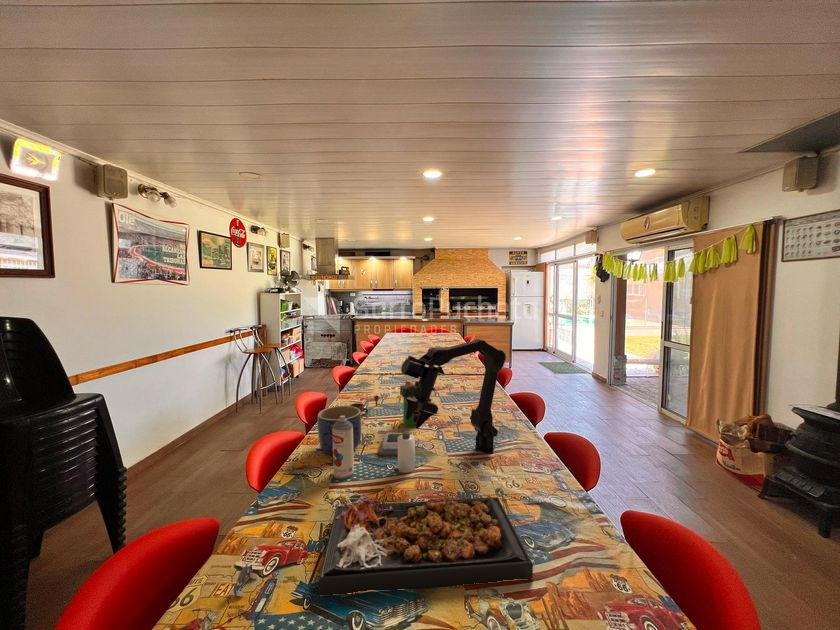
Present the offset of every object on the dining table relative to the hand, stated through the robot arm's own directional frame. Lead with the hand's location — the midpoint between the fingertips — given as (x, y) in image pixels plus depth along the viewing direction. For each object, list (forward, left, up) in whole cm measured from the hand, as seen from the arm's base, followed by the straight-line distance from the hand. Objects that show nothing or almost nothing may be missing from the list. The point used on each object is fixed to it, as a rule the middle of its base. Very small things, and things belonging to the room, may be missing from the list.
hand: (411, 423), depth 127 cm
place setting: (+42, -44, -16) cm, 63 cm away
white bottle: (+1, +3, -15) cm, 15 cm away
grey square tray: (+10, -11, -15) cm, 21 cm away
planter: (+31, -3, -15) cm, 34 cm away
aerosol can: (+20, +13, -15) cm, 28 cm away
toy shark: (+16, +57, -16) cm, 61 cm away
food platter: (-17, +38, -16) cm, 44 cm away
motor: (+13, -37, -15) cm, 42 cm away
